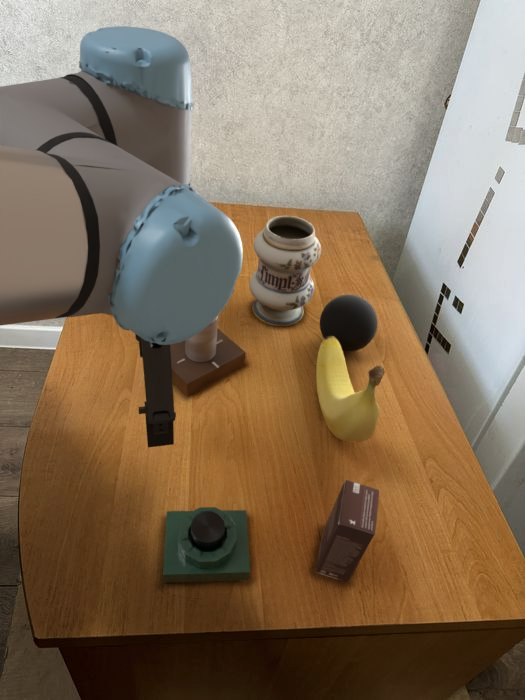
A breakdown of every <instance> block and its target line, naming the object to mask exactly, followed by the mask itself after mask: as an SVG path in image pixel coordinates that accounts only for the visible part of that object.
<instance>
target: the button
mask: <svg viewBox="0 0 525 700" xmlns="http://www.w3.org/2000/svg"><path fill="white" fill-rule="evenodd" d="M224 535H225V522H224V520H223V518H222V517H221V516H220V515H219V514H218V513H216V512H213V511H204V512H201V513H199V514H198V515H196V516H195V517H194V519H193V520H192V523H191V540H192V543H193V544H194V545H195V546H196V547H197V548H199V549H201V550H204V551H210V550H214V549H216V548H217V547H219V546H220V545H221V543H222V542H223V540H224Z"/></svg>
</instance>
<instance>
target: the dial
mask: <svg viewBox="0 0 525 700" xmlns="http://www.w3.org/2000/svg"><path fill="white" fill-rule="evenodd" d="M218 326H219V315H218V316H217V317H216V318H215V320H214V321H213V322H212V323H210V324H209V325H208V326H207V327H206V328H205V329H203V330H202V331H201V332H199V333H198V334H196V335H195V336H193V337H191V338H189V339H187V340H185V353H186V355H187V357H188V358H189V359H191V360H193V361H196V362H206V361H209V360H211V359H212V358H213V357H214V356H215V354H216V343H217V328H218ZM218 329H219V328H218Z"/></svg>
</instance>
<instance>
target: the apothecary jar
mask: <svg viewBox="0 0 525 700" xmlns="http://www.w3.org/2000/svg"><path fill="white" fill-rule="evenodd" d="M253 250H254V253H255V254H256V256H257V257H258V264H257V269H255V271H254V272H253V273H252V274H251V276H250V278H249V283H248V285H249V291H250V293H251V296H253V298H254V299H255V300H254V301H253V303H252V307H251V308H252V312H253V314H254V315H255V317H256V318H257V319H258V320H259V321H261V322H263V323H265V324H267V325H270V326H273V327H289V326H293V325H295V324H297V323H299V321H301V319H302V318H303V316H304V312H305V311H304V306H305V305H307V304H308V303H309V302H310V301H311V300H312V298H313V296H314V295H315V294H314V293H315V284H314V280H313V279H312V277H311V269H312V266H314V265H315V264H317V263H318V261H319V260H320V257H321V254H322V245H321V242H320V241H319V239H318V238H317V236H316V230H315V227H314V225H313V224H312V223H311V222H309V221H308V220H306V219H304V218H302V217H299V216H295V215H277V216H274V217H272V218H270V219H269V220H267V222H266V223H265V226H264V228H263V229H261V230H260V231H259V232H258V233H257V235H256V236H255V238H254V241H253Z"/></svg>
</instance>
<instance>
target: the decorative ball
mask: <svg viewBox="0 0 525 700" xmlns="http://www.w3.org/2000/svg"><path fill="white" fill-rule="evenodd" d="M377 315H378V314H377V313H376V310H375V308H374V307H373V306H372V304H371V303H370V302H369V301H368V300H367V299H365V298H364V297H362V296H359V295H355V294H342V295H338V296H336V297H334V298H332V299H331V300H330V301H329V302H328V303H326V304H325V306H324V308H323V309H322V311H321V314H320V316H319V317H320V318H319V329H320V332H321V333H320V334H321V335H322V337H323V340H324V339H325V338H326V337H327V336H335V337H336V339H337V340H338V341H339V343H340V345H341V348H342V351H343V352H344V353H345V352H346V353H347V352H348V353H350V352H357V351H359V350H361V349H363V348H365V347H367V346H368V345H369V344H370V343H371V342H372V340H373V339H374V338H375V336H376V333H377V330H378V324H379V323H378V316H377Z"/></svg>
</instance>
